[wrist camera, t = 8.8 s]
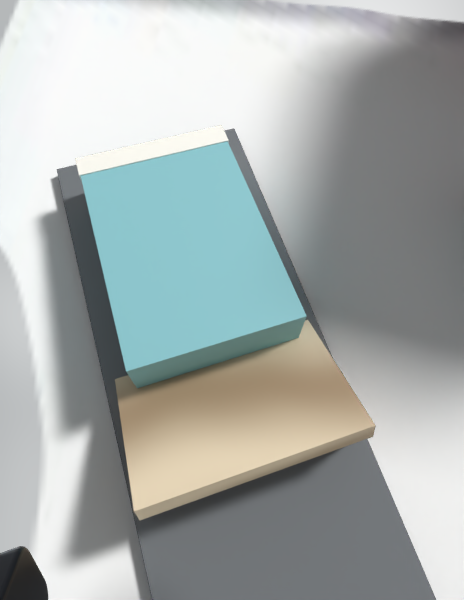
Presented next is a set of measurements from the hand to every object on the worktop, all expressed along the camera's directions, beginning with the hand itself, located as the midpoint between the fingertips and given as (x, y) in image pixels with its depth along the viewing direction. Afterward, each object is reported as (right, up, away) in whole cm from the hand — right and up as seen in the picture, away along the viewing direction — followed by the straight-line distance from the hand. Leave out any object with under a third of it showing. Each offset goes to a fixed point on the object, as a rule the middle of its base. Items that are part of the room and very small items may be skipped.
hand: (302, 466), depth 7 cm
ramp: (-1, -2, +10) cm, 10 cm away
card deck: (-2, +1, +9) cm, 9 cm away
